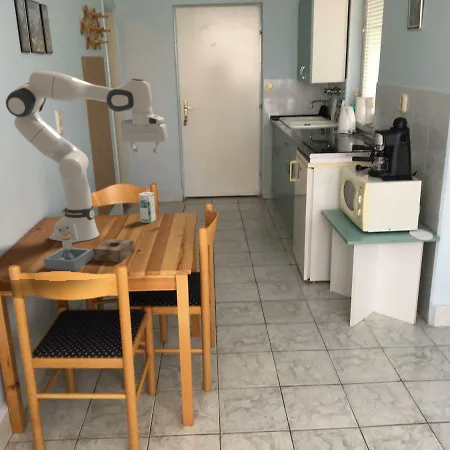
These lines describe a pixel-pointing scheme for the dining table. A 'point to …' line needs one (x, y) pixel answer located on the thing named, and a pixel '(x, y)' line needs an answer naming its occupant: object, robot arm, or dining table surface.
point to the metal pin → (67, 246)
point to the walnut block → (113, 250)
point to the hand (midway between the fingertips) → (145, 152)
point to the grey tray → (60, 263)
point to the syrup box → (147, 207)
